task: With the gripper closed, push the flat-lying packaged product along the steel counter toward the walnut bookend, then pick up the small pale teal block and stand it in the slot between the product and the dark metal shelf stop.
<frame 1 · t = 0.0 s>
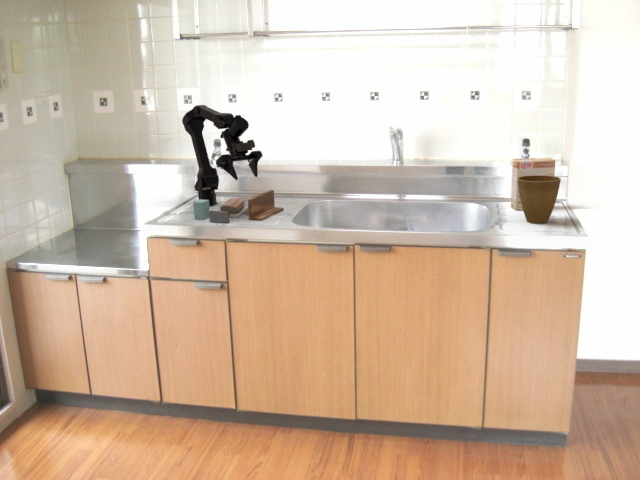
hand: (246, 178, 276), 15 cm above the counter, tool tilted 35°, fingers open, 9 cm apart
plant pot: (536, 221, 259), on the counter
metal shelf stop: (219, 222, 270), on the counter
walnut bookend: (262, 214, 281), on the counter
pale teal block: (202, 218, 277), on the counter
packaged product: (232, 213, 287), on the counter
coffeecake box: (531, 208, 281), on the counter
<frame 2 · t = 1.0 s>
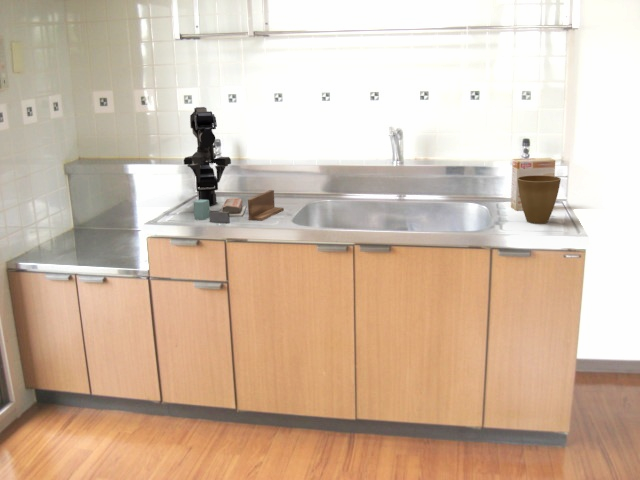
hand: (208, 182, 288), 12 cm above the counter, tool pointing down, fingers open, 9 cm apart
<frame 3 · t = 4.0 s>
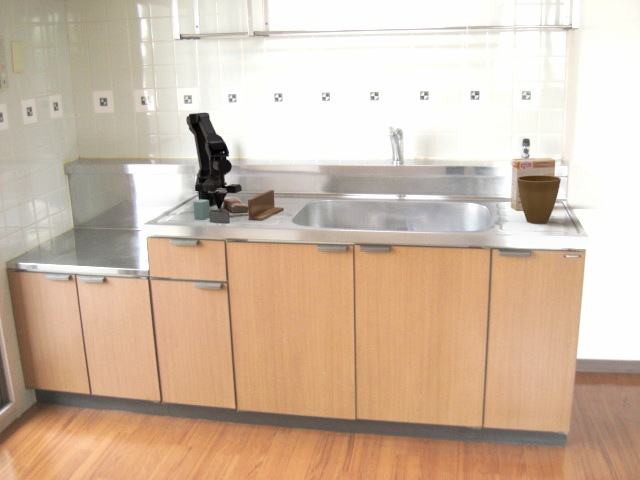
hand: (219, 208, 289), 1 cm above the counter, tool pointing down, fingers closed
packaged product: (235, 213, 287), on the counter
everything else where it was.
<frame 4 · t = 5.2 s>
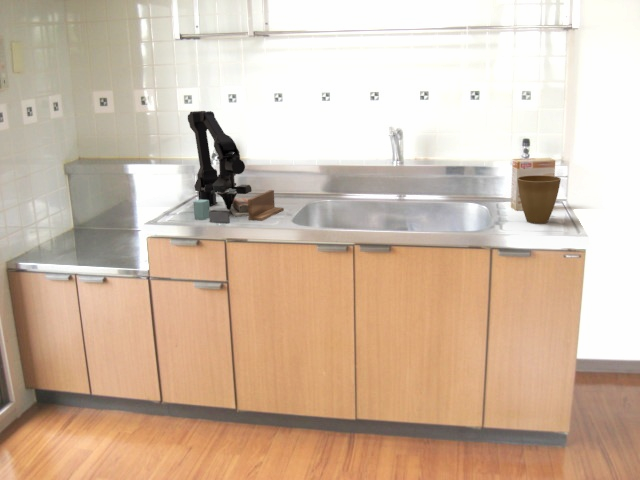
hand: (228, 209, 287), 1 cm above the counter, tool pointing down, fingers closed
packaged product: (243, 212, 288), on the counter
everything else where it was.
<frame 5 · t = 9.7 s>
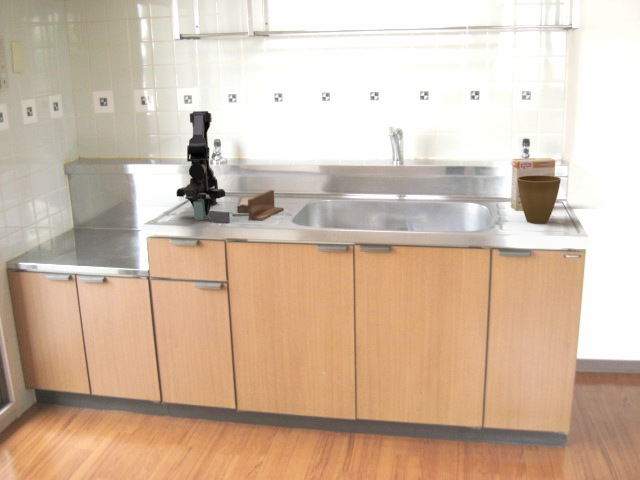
hand: (202, 214, 277), 2 cm above the counter, tool pointing down, fingers closed on pale teal block, 4 cm apart
pale teal block: (202, 218, 277), on the counter, touching gripper
packaged product: (246, 212, 288), on the counter
everything else where it was.
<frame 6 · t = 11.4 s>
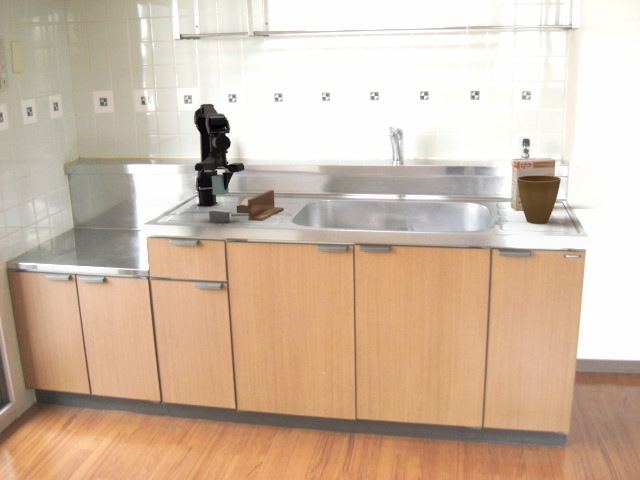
hand: (220, 189, 271), 12 cm above the counter, tool pointing down, fingers closed on pale teal block, 4 cm apart
pale teal block: (220, 193, 271), point 10 cm above the counter, touching gripper
when the fingers open (3 cm above the counter, at t = 13.4 s): pale teal block drops 1 cm, on the counter.
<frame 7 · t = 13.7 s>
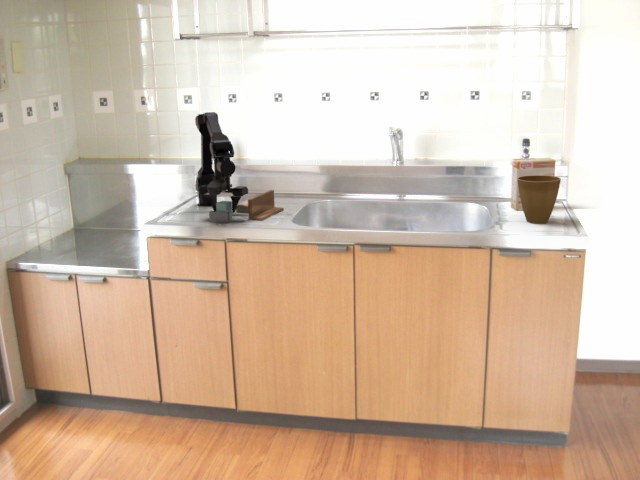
hand: (224, 212, 273), 3 cm above the counter, tool pointing down, fingers open, 8 cm apart
pale teal block: (224, 220, 274), on the counter
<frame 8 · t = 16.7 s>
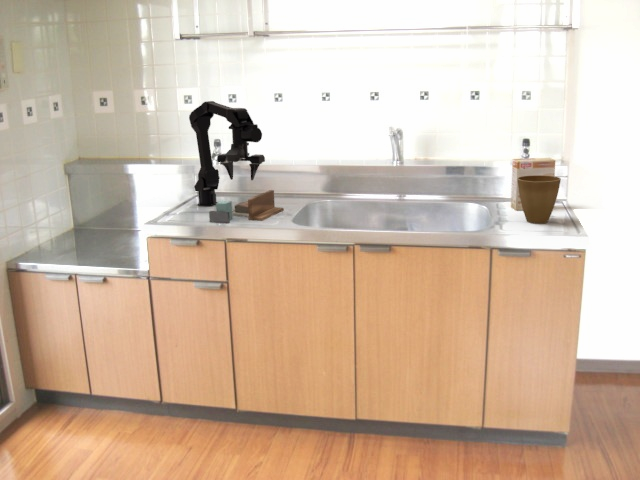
hand: (241, 179, 284), 13 cm above the counter, tool pointing down, fingers open, 9 cm apart
at the end: packaged product inside the target area (2.5 cm from its centre), on the counter; pale teal block 0.1 cm from the target spot, on the counter; pale teal block tilted 0° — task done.
